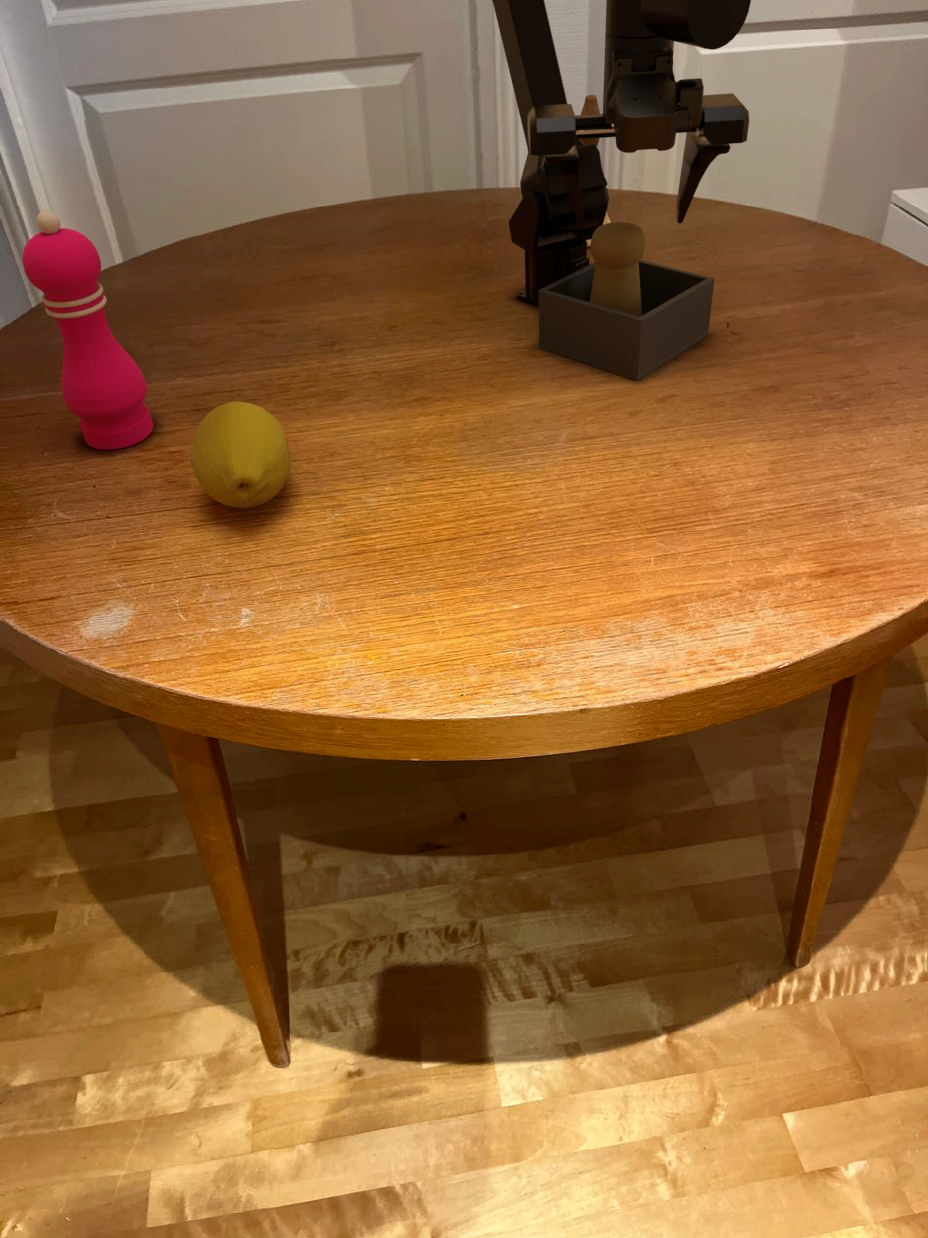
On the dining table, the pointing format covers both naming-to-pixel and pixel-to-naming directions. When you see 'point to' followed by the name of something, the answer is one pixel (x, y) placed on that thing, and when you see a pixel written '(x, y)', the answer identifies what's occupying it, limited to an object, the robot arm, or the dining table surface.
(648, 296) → the open box
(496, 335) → the dining table surface
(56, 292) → the pepper mill
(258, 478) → the lemon
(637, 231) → the cork
